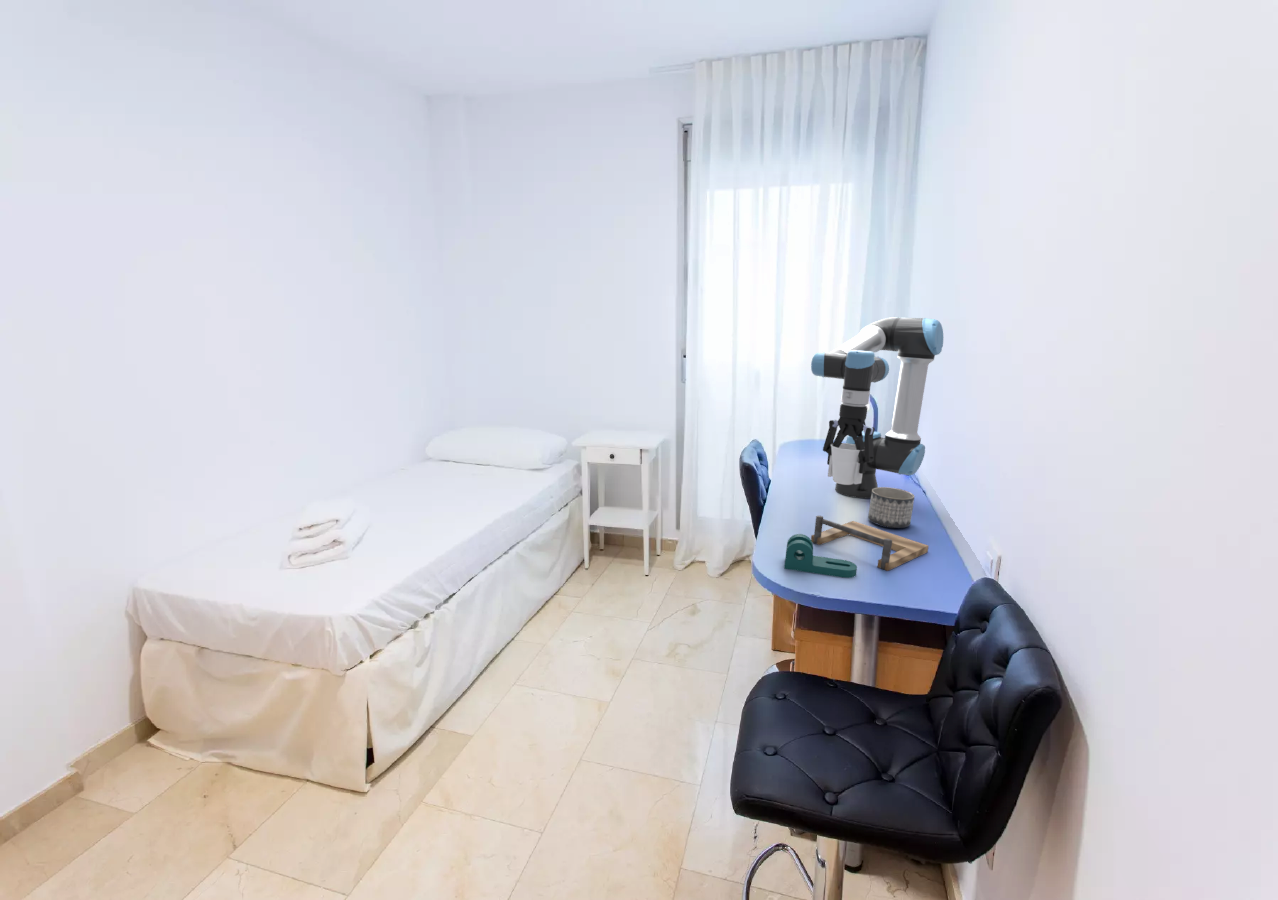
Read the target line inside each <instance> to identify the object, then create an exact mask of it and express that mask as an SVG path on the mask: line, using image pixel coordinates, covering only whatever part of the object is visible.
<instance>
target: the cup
mask: <svg viewBox="0 0 1278 900" xmlns="http://www.w3.org/2000/svg"><path fill="white" fill-rule="evenodd" d="M831 450H832V471H833V476H832V481H833V482H835V484H836V483H838V484H843V485H851V484H853V483H854V478H855V470H856V463H857V462H858V461H859V458H858V454H859V451H860V450H856V446H855V444H849V443H846V442H842V443H841V445H840V446H839V448H837V447H834V446H833V444H831ZM861 451H864V450H861Z"/></svg>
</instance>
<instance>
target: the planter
mask: <svg viewBox="0 0 1278 900" xmlns="http://www.w3.org/2000/svg"><path fill="white" fill-rule="evenodd" d="M915 497H916V496H915V494H914V493H912V492H910V491H907V490H905V489H900V488H895V487H889V486H888V487H887V486H878V487H877V488H874V489H872V493H871V498H870V501H869V508H868V516H867V519H868V520H869V521H870V522H872V523H874V524H876V525H879V526H881V527H883V528H889V529H901V528H903V529H904V528H907V527H910V525H911V522H912V521H911V520H912V516H913V509H914V502H915Z"/></svg>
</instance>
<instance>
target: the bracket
mask: <svg viewBox="0 0 1278 900" xmlns="http://www.w3.org/2000/svg"><path fill="white" fill-rule="evenodd" d="M784 570H789V571H797V572H803V573H804V572H805V573H809V574H810V573H811V574H816V575H825V576H832V577H837V578H843V579H844V578H846V579H850V578H855V577H856V576H857V571H858V565H857V564H856V563H854V562H852V561H849V560H847V559H841V558H840V559H839V558H834V557H833V558H832V557H825V556H819V555H814V543H813V542H812V541H811V537H810V536H808V535H806V534H803V533H796V534H793V535H792V536H790V537H789V538H788V539H787V542H786V550H785V561H784ZM854 576H855V577H854Z"/></svg>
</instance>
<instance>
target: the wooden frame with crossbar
mask: <svg viewBox="0 0 1278 900" xmlns="http://www.w3.org/2000/svg"><path fill="white" fill-rule="evenodd" d="M823 525H825V526H828V527H830V528H829V529H826V530H824V531H823ZM847 534H848V535H849V534H850V535H849V536H852V537H855V538H858V539H861V540H863V541H866V542H868V543H869V542H870V543H872V544H874V545H877V546H881V547H882V550H881V551H882V552H881V558H879V559H878V560H877V566H876V567H877V568H879V569H881V570H884V571H886V572H888V571H891V570H893V569H896V568H897V567H899V566H902V565H903V564H906V563H908V562H909V561H912V560H914V559H917V558H918V557H920V556H922V555H925V554H926V553H928V552H929V546H930V545H928V544H924V543H922V542H918V541H917V540H912V539H909V538H907V537H903V536H900V535H897V534H895V533H891V532H890V531H889V532H888V531H885V530H882V529H880V528H876V527H873V526H870V525H867V524H864V523H861V522H858V521H854V520H851V521H849V522H846V523H843V524H839V523H836V522H833V521H831V520H827V519H825V518H824V516H822V515H816V516H815V523H814V533H813V534H811V537H810V539H811V541H812V543H813V544H816V545H818V546H821V545H823V544H826V543H829V542H831V541H834V540H837V539H839V538H842V537H845V536H848V535H847ZM891 551H895V552H893V553H892V552H891Z"/></svg>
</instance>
